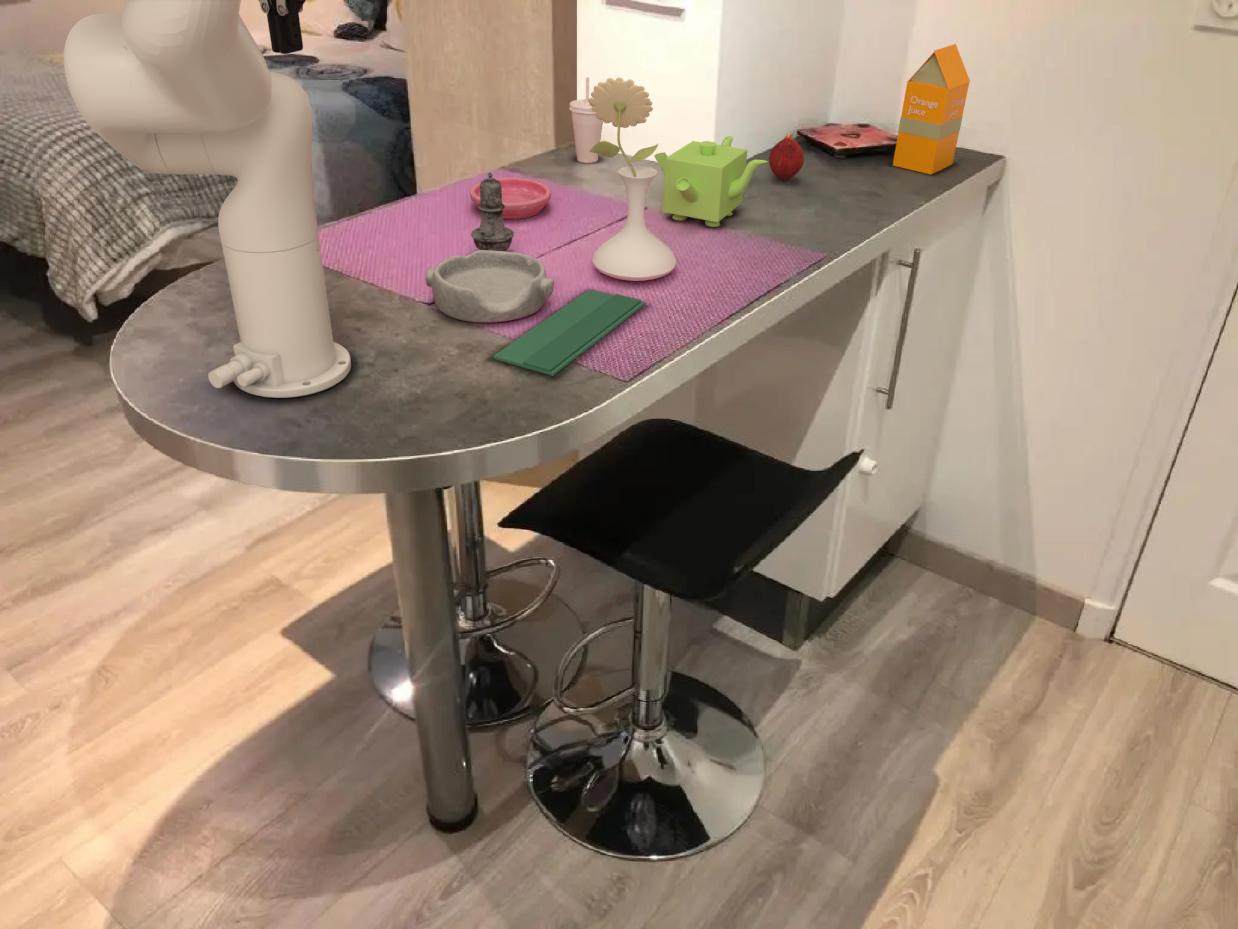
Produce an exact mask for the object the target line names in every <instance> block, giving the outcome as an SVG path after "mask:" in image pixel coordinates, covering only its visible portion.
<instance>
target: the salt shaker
mask: <svg viewBox="0 0 1238 929" xmlns="http://www.w3.org/2000/svg"><path fill="white" fill-rule="evenodd" d="M493 176H494V175H493V173H491V171H490V172H489V173H488V174H487V177H486V178H485V179H483V180H482V182H481V181H480V182H481V183H480V201H481V204H479V205H478V206H477V208H478V209H479V212H480V224H479V227H477V228H475V229H473V230H472V231H471V232H470V236H471V238H472V239H473V243H474V245H475V248H477V249H478V250H490V251H505V252H508V249H509V248H510V247H511V244H512V242H513V237H514V236H515V232H514V231H513V230H512V229H511V228H509V227H506V225H505V222H504V219H503V209H504V208H505V205H504V204H502V189H501V183H500V182H499V181H498V180H496V179H494V178H495V177H494V178H493Z"/></svg>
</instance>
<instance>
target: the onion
mask: <svg viewBox="0 0 1238 929" xmlns="http://www.w3.org/2000/svg"><path fill="white" fill-rule="evenodd" d="M793 136H794V135H793V134H792V133H791V132H788V133H786V134H785V136H784V138H783V139H782V140H779V141H778V142H777V143H775V145H774V146H773V147H772V148H771V151H770V153H769V156H768V164H769V168H770V170H771V172H772V173H773V174H774V176H775V177H776V178H778V179H779V180H780V181H781V182H786V181H788V180H790V179H792V178H793V177H795V175H797V174H798V173H799V172H800V170H801V169H802V168H803V165H804V163H805V154H804V151H803V149H802V147H801V145H800V144H799V143H798V142H797V141H796V140H795V139H794V138H793Z"/></svg>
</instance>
